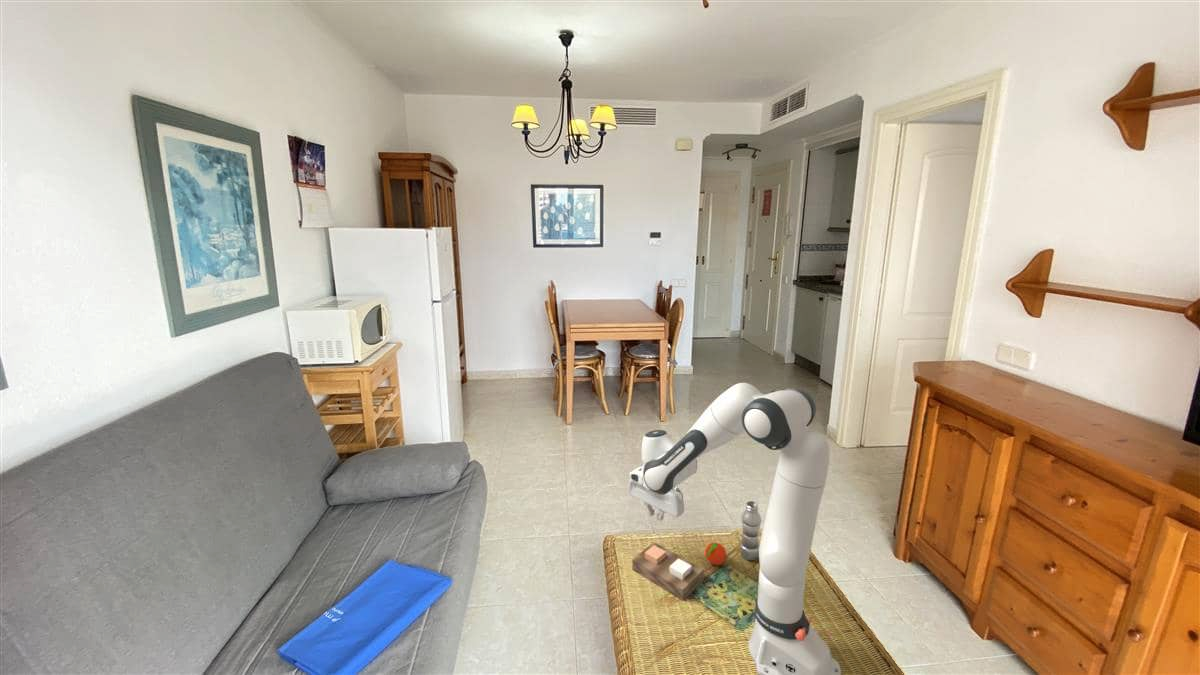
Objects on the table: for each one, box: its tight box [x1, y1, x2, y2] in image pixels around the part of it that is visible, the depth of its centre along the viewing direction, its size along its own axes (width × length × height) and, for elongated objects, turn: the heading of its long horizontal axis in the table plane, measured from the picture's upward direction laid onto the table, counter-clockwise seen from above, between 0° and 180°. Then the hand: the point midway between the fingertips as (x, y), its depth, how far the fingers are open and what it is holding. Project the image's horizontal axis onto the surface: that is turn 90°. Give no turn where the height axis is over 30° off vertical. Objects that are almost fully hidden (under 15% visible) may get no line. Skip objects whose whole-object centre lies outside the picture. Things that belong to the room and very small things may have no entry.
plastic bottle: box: [739, 500, 762, 561], centre depth 162 cm, size 6×7×20 cm
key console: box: [631, 542, 705, 602], centre depth 156 cm, size 20×12×4 cm, turn 46°
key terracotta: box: [645, 545, 666, 565], centre depth 159 cm, size 5×5×3 cm
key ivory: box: [669, 559, 692, 580], centre depth 152 cm, size 5×5×3 cm
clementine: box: [704, 542, 727, 566], centre depth 160 cm, size 8×7×7 cm
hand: (655, 517), depth 155 cm, fingers open, 2 cm apart
